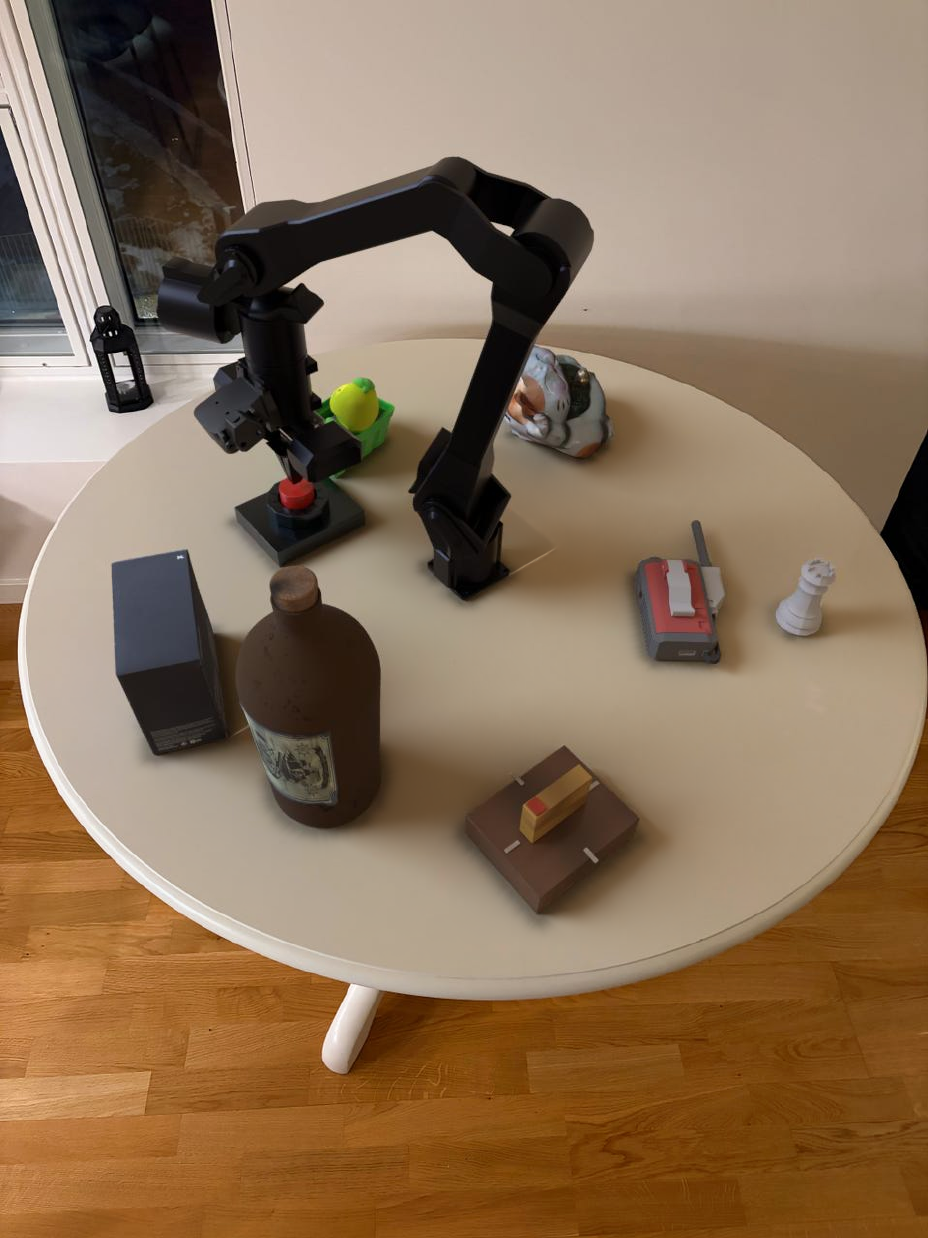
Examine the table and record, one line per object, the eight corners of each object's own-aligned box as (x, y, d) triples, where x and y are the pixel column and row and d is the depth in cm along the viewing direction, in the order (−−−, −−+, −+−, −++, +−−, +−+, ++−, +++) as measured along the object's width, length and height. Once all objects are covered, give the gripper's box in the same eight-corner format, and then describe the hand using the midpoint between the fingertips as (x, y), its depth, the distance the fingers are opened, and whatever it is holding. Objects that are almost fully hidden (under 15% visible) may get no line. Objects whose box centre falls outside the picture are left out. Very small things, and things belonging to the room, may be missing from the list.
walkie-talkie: (737, 672, 87) (702, 530, 100) (749, 643, 84) (711, 500, 97) (647, 670, 87) (623, 528, 100) (655, 641, 84) (630, 498, 97)
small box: (142, 646, 88) (108, 559, 79) (214, 632, 89) (189, 545, 80) (150, 758, 79) (114, 674, 70) (229, 740, 81) (203, 656, 72)
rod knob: (573, 789, 75) (579, 762, 72) (586, 803, 74) (593, 775, 71) (518, 830, 72) (522, 803, 69) (532, 844, 71) (536, 818, 68)
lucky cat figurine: (621, 461, 108) (594, 396, 96) (526, 490, 111) (489, 430, 99) (600, 363, 114) (572, 289, 102) (510, 392, 117) (473, 325, 105)
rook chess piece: (820, 641, 90) (847, 587, 84) (774, 634, 91) (798, 579, 85) (817, 609, 93) (843, 554, 87) (773, 602, 93) (796, 547, 87)
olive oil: (302, 714, 83) (263, 510, 64) (407, 751, 80) (399, 551, 62) (242, 809, 76) (178, 614, 57) (355, 853, 74) (328, 664, 55)
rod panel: (556, 758, 80) (559, 739, 78) (639, 841, 75) (645, 822, 73) (460, 827, 76) (461, 808, 73) (541, 920, 70) (545, 903, 68)
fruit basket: (351, 417, 113) (344, 336, 104) (407, 444, 109) (405, 363, 101) (288, 463, 106) (275, 381, 98) (345, 493, 103) (337, 411, 95)
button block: (321, 482, 104) (317, 455, 101) (365, 524, 100) (363, 497, 97) (237, 521, 100) (231, 494, 97) (279, 568, 95) (274, 540, 92)
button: (303, 483, 99) (301, 470, 97) (321, 500, 97) (319, 488, 95) (274, 496, 97) (272, 483, 96) (292, 514, 95) (290, 501, 94)
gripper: (149, 335, 85) (184, 466, 96) (250, 432, 75) (275, 564, 87) (253, 298, 89) (274, 427, 101) (360, 386, 80) (370, 517, 92)
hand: (295, 481), depth 95 cm, fingers closed
